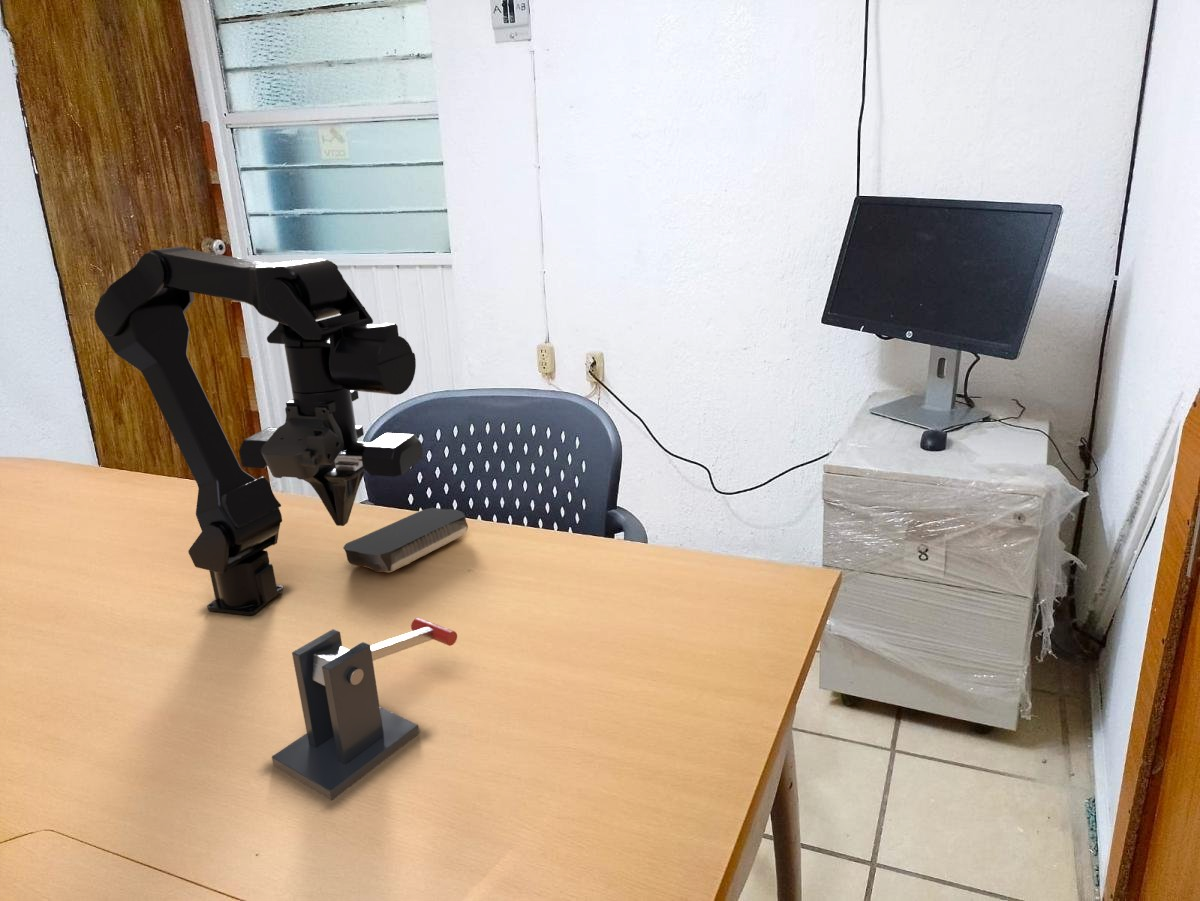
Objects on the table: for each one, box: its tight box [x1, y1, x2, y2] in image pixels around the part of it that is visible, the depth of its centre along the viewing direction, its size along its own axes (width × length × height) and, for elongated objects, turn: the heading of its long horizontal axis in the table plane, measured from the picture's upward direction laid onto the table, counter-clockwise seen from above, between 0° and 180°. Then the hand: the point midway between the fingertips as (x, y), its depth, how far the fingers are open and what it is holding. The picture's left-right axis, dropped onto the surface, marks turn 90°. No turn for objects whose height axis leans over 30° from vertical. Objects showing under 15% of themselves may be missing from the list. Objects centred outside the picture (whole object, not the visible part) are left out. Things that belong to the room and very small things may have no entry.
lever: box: [312, 617, 458, 686], centre depth 77 cm, size 14×5×2 cm, turn 146°
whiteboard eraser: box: [342, 507, 469, 573], centre depth 112 cm, size 16×8×4 cm, turn 144°
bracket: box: [271, 628, 420, 801], centre depth 73 cm, size 10×8×11 cm
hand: (342, 524), depth 90 cm, fingers closed
